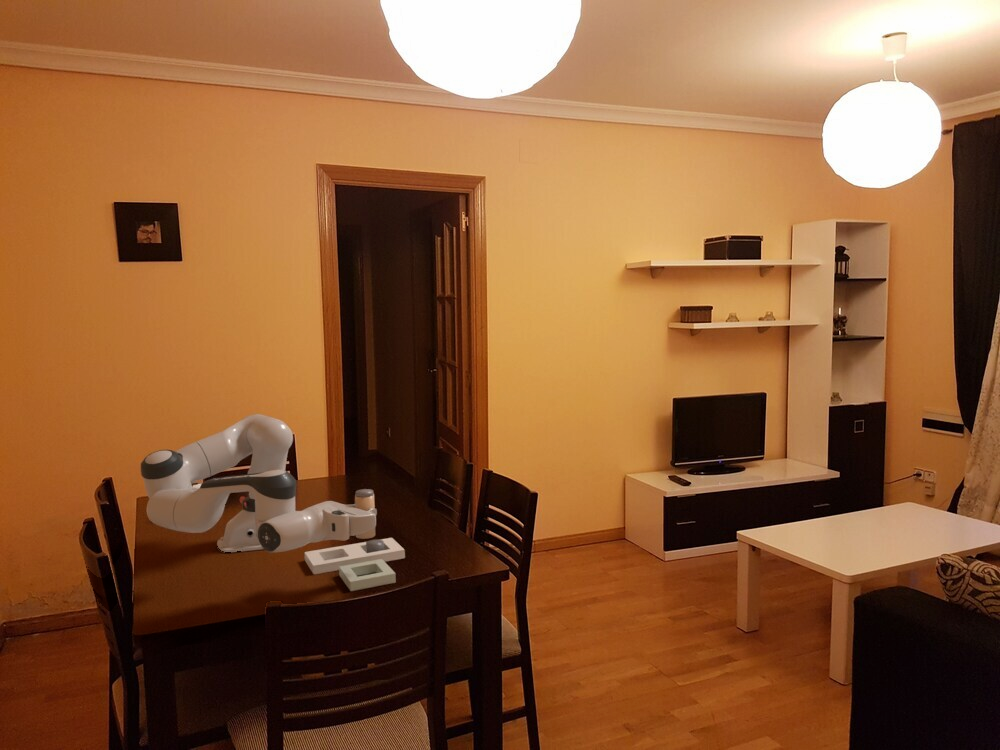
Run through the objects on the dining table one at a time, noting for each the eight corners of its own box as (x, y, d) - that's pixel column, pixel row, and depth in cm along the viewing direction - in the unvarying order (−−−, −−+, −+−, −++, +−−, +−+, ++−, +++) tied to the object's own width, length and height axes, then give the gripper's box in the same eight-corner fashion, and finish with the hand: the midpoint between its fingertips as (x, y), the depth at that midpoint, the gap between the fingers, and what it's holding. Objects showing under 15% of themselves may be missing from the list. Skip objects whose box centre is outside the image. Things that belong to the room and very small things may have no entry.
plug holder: (350, 591, 184) (350, 581, 183) (339, 575, 194) (338, 566, 194) (395, 582, 189) (395, 573, 189) (382, 567, 200) (381, 558, 199)
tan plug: (359, 539, 187) (357, 494, 186) (353, 534, 192) (352, 490, 190) (377, 536, 189) (376, 492, 188) (372, 531, 194) (370, 488, 193)
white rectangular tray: (313, 574, 195) (313, 560, 195) (304, 560, 206) (304, 547, 206) (405, 558, 207) (404, 544, 206) (392, 545, 217) (391, 532, 217)
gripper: (300, 525, 187) (344, 513, 198) (348, 542, 174) (392, 528, 184) (299, 502, 187) (343, 490, 197) (347, 516, 173) (391, 504, 183)
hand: (367, 509), depth 190 cm, fingers closed on tan plug, 5 cm apart
